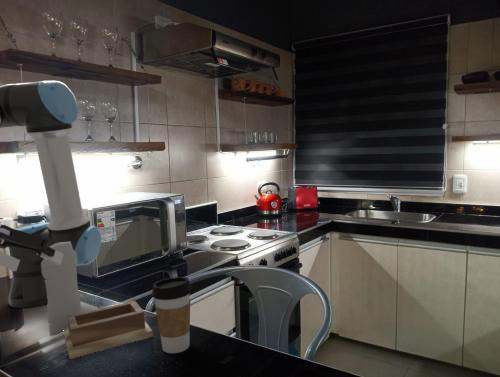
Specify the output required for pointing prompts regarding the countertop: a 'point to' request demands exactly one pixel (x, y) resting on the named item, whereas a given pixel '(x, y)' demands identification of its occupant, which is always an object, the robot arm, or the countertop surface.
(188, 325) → the coffee cup
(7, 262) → the robot arm
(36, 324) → the countertop surface
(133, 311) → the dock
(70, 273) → the tall pale column
